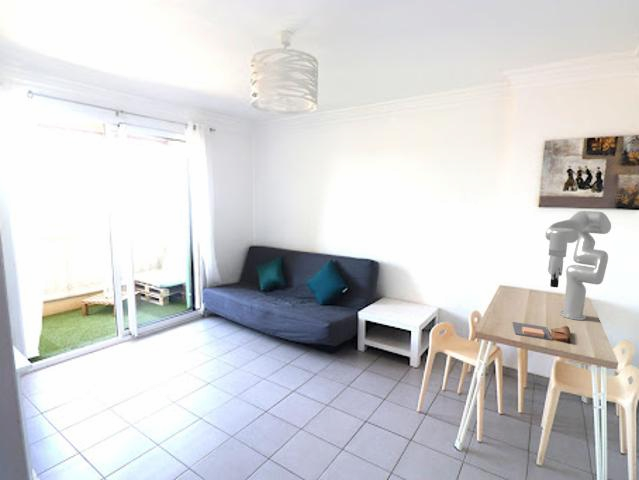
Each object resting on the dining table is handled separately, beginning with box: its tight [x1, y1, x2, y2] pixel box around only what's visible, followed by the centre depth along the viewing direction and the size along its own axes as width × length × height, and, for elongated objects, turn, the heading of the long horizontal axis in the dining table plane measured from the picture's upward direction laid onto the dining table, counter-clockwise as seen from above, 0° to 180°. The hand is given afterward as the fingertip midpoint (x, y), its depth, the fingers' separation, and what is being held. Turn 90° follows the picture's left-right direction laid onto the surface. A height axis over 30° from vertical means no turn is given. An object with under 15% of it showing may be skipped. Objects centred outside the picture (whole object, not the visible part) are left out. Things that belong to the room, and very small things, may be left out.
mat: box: [511, 321, 553, 341], centre depth 178 cm, size 18×16×1 cm
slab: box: [522, 327, 544, 338], centre depth 174 cm, size 2×9×6 cm
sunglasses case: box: [550, 325, 572, 345], centre depth 173 cm, size 18×7×7 cm
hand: (554, 286), depth 179 cm, fingers closed
